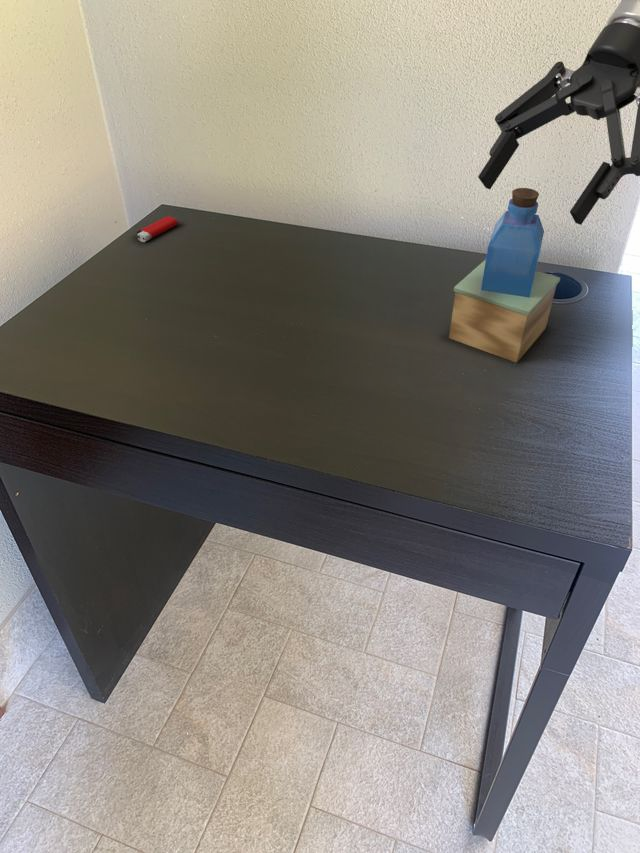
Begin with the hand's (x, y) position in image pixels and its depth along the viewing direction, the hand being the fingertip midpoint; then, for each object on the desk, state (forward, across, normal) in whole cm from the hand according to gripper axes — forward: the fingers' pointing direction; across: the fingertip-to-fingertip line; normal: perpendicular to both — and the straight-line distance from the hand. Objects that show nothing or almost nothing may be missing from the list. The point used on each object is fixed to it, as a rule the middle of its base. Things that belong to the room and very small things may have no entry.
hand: (527, 200), depth 83 cm
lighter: (+29, +59, +2) cm, 65 cm away
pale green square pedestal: (+14, 0, -13) cm, 19 cm away
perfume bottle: (+8, 0, -8) cm, 11 cm away
